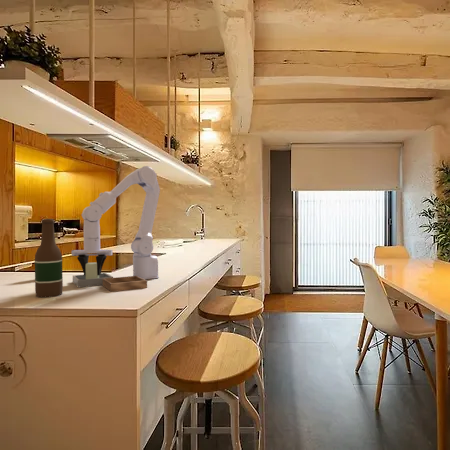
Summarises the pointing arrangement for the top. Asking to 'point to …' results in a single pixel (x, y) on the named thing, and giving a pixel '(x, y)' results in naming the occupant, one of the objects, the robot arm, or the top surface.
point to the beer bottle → (48, 264)
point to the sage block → (91, 271)
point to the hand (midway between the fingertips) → (92, 274)
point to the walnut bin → (124, 283)
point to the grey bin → (89, 280)
